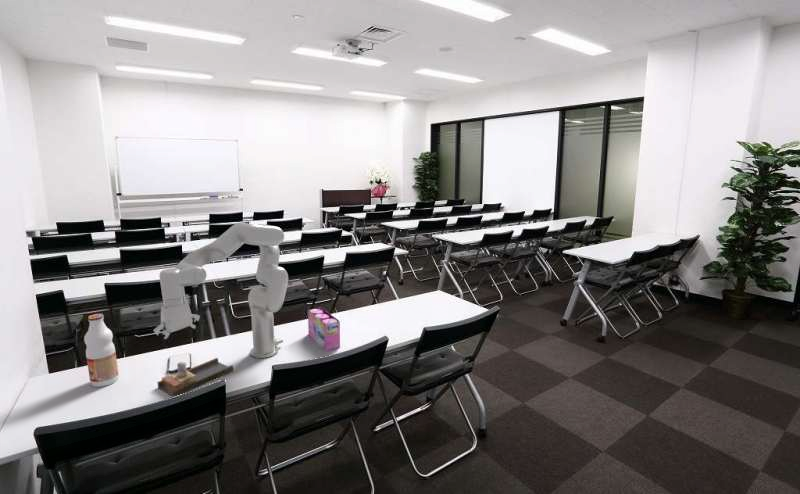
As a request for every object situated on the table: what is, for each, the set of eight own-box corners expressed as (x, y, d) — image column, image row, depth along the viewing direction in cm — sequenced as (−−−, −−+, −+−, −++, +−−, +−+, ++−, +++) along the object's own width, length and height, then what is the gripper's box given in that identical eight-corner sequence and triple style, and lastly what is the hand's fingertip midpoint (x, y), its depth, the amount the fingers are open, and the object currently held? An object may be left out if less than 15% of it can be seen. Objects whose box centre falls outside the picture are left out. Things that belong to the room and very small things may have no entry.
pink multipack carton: (306, 333, 215) (306, 308, 213) (321, 330, 220) (320, 305, 217) (325, 351, 196) (324, 324, 193) (340, 347, 200) (340, 320, 197)
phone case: (169, 359, 187) (167, 375, 173) (168, 356, 187) (167, 371, 173) (191, 355, 191) (191, 370, 177) (190, 352, 191) (191, 367, 177)
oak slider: (185, 376, 169) (183, 358, 168) (196, 382, 165) (194, 363, 163) (170, 382, 165) (168, 363, 163) (181, 388, 160) (179, 369, 158)
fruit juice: (110, 387, 163) (101, 320, 157) (85, 388, 162) (74, 320, 156) (123, 375, 172) (115, 311, 166) (99, 375, 171) (90, 311, 165)
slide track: (217, 363, 183) (216, 354, 182) (233, 371, 176) (232, 362, 175) (158, 387, 163) (157, 378, 162) (173, 398, 156) (172, 388, 155)
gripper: (191, 292, 167) (196, 332, 171) (145, 305, 153) (152, 348, 157) (201, 296, 162) (206, 336, 166) (155, 310, 149) (162, 353, 153)
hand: (180, 342), depth 162 cm, fingers open, 9 cm apart
